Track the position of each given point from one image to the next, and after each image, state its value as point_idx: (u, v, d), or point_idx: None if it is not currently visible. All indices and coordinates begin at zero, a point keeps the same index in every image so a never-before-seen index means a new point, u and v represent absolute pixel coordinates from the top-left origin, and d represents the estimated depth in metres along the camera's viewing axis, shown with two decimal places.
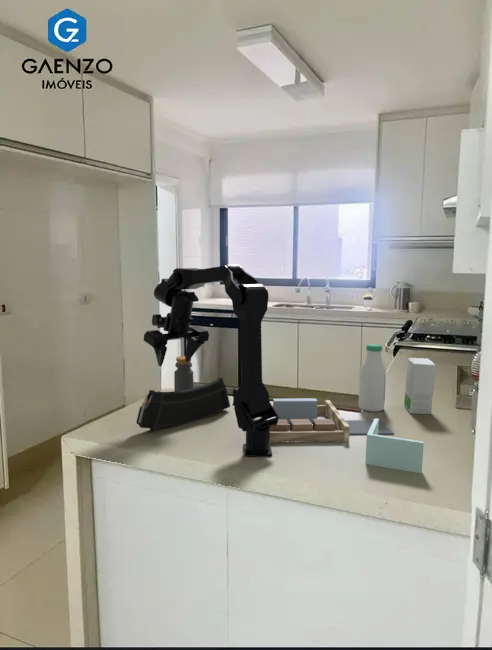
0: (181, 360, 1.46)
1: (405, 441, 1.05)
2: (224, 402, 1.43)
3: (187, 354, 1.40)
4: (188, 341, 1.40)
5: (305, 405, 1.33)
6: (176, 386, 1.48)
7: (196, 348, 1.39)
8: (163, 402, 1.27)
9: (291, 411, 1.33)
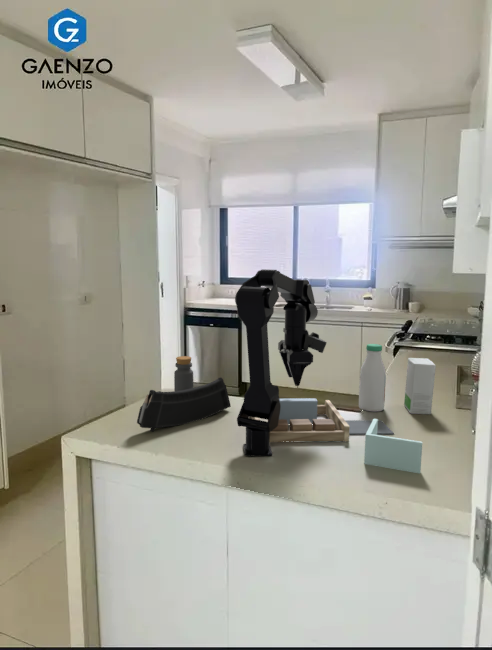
0: (181, 360, 1.46)
1: (404, 441, 1.05)
2: (224, 402, 1.43)
3: None
4: None
5: (305, 405, 1.33)
6: (176, 386, 1.48)
7: (289, 368, 1.27)
8: (164, 402, 1.28)
9: (291, 411, 1.33)
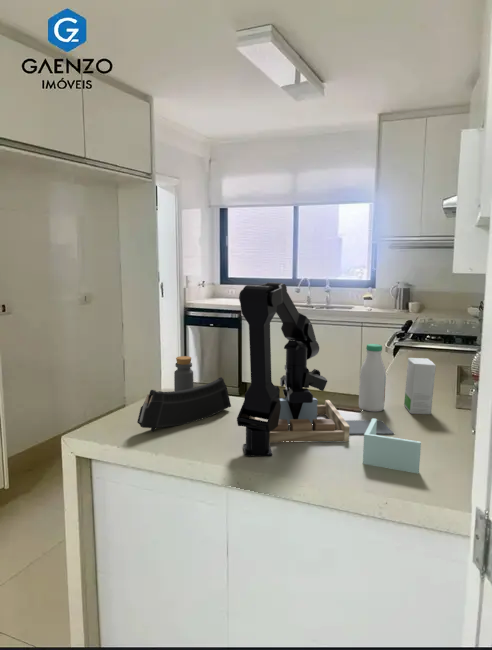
0: (181, 360, 1.46)
1: (402, 441, 1.05)
2: (225, 402, 1.43)
3: None
4: None
5: (305, 405, 1.33)
6: (176, 386, 1.48)
7: (288, 403, 1.31)
8: (164, 402, 1.28)
9: None
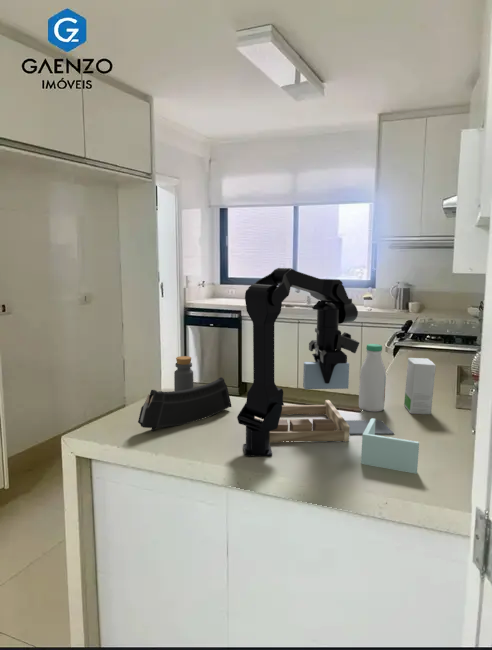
0: (181, 360, 1.46)
1: (401, 441, 1.05)
2: (225, 402, 1.43)
3: None
4: None
5: (337, 368, 1.30)
6: (176, 386, 1.48)
7: None
8: (165, 402, 1.28)
9: None
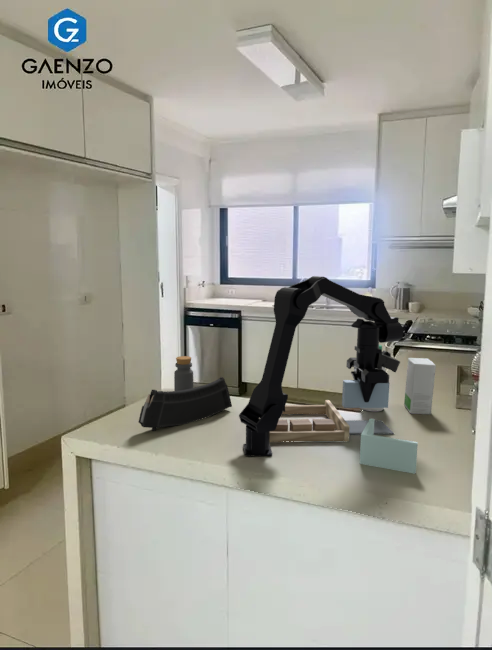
0: (181, 360, 1.46)
1: (399, 441, 1.05)
2: (225, 401, 1.43)
3: None
4: None
5: (377, 387, 1.29)
6: (176, 386, 1.48)
7: None
8: (165, 402, 1.28)
9: None
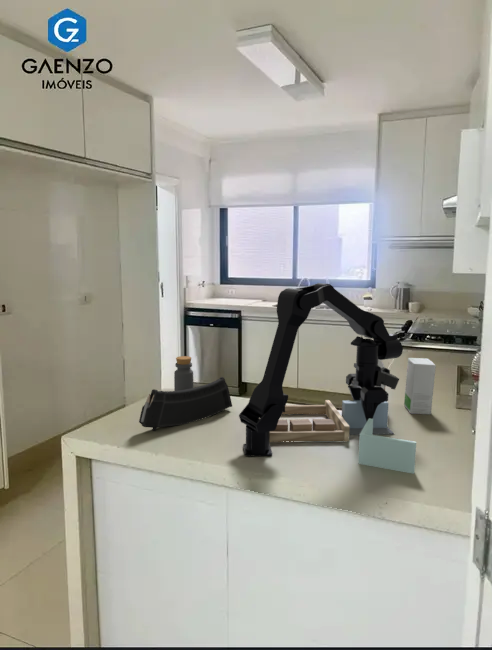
0: (181, 360, 1.46)
1: (398, 441, 1.05)
2: (226, 401, 1.43)
3: None
4: None
5: None
6: (176, 386, 1.48)
7: (362, 405, 1.26)
8: (166, 402, 1.28)
9: (361, 414, 1.30)
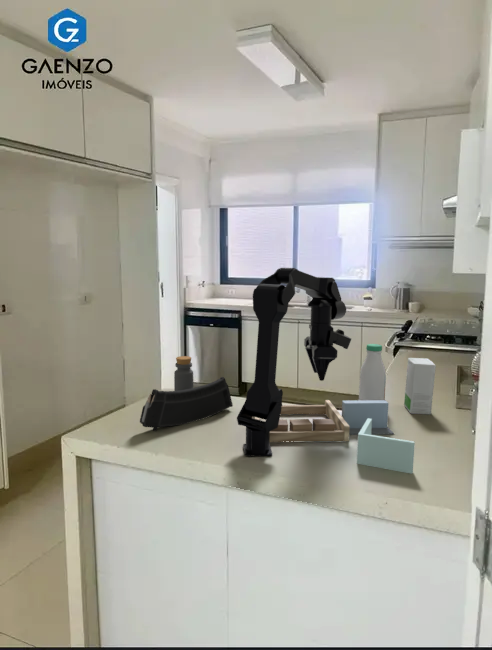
0: (181, 360, 1.46)
1: (396, 441, 1.05)
2: (226, 401, 1.44)
3: None
4: None
5: (376, 407, 1.30)
6: (176, 386, 1.48)
7: (314, 363, 1.31)
8: (166, 402, 1.28)
9: (361, 414, 1.30)
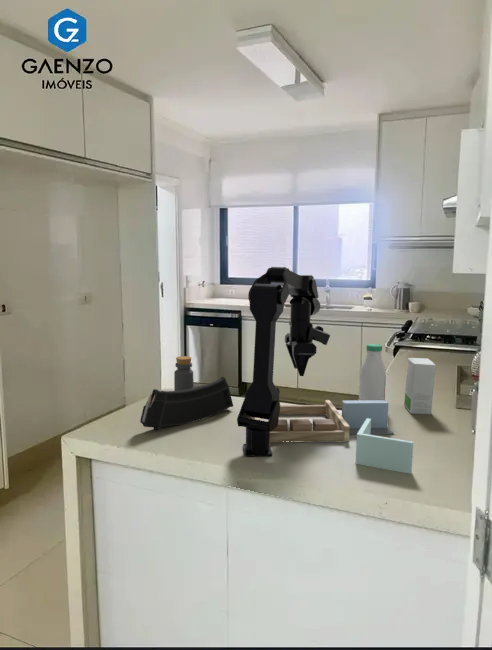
0: (181, 360, 1.46)
1: (395, 441, 1.05)
2: (227, 401, 1.44)
3: None
4: None
5: (376, 407, 1.30)
6: (176, 386, 1.48)
7: (294, 359, 1.34)
8: (167, 402, 1.28)
9: (361, 414, 1.30)
